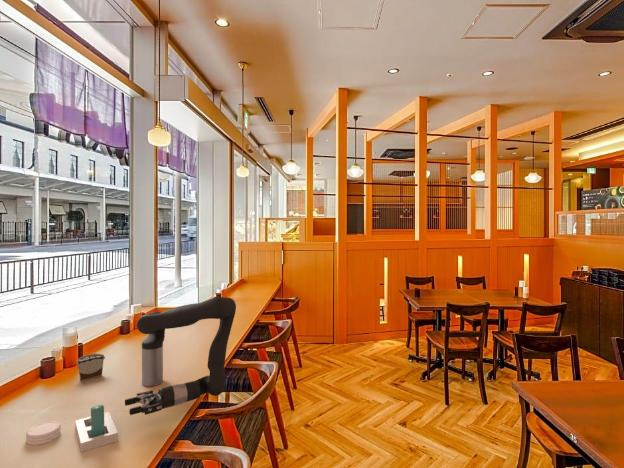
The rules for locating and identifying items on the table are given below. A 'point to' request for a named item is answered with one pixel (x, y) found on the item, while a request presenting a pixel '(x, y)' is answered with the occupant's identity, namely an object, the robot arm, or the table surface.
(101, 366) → the food container
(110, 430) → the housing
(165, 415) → the table surface
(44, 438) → the coaster
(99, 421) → the teal cylinder
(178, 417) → the table surface
